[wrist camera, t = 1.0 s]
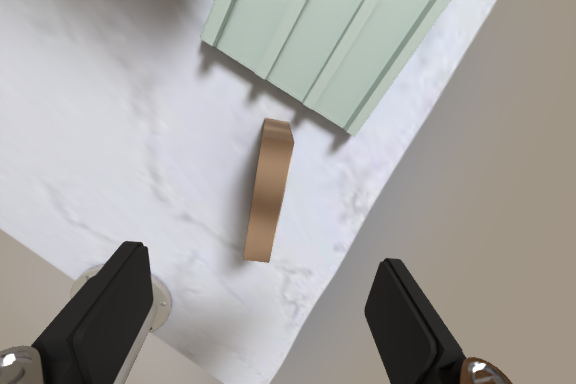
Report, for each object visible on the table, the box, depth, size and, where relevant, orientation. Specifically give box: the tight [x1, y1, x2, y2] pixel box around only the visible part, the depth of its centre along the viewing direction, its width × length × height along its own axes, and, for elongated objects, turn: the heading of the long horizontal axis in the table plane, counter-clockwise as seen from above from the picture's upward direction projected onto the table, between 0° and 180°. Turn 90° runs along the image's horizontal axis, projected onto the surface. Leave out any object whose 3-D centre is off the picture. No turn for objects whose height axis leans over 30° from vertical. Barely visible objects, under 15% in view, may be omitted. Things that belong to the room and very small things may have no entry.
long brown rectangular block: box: [243, 118, 294, 263], centre depth 27 cm, size 12×3×8 cm, turn 169°
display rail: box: [200, 0, 451, 137], centre depth 23 cm, size 13×17×3 cm
